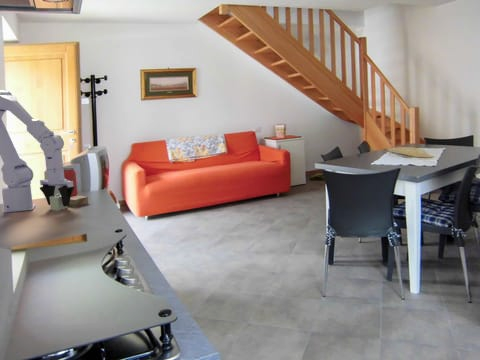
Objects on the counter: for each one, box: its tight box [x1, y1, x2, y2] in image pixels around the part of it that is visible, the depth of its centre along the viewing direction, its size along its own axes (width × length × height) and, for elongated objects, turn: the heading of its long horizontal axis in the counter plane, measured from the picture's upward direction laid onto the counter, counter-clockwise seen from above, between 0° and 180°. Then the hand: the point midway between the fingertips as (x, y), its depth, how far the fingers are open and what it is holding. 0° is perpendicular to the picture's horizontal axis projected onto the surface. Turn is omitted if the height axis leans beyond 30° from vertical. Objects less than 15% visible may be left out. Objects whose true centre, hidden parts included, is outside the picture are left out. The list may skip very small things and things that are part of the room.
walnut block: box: [68, 195, 89, 208], centre depth 163 cm, size 6×6×3 cm
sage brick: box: [49, 193, 68, 211], centre depth 156 cm, size 4×4×6 cm
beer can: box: [59, 167, 79, 197], centre depth 177 cm, size 7×7×12 cm
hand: (58, 205), depth 156 cm, fingers open, 7 cm apart
